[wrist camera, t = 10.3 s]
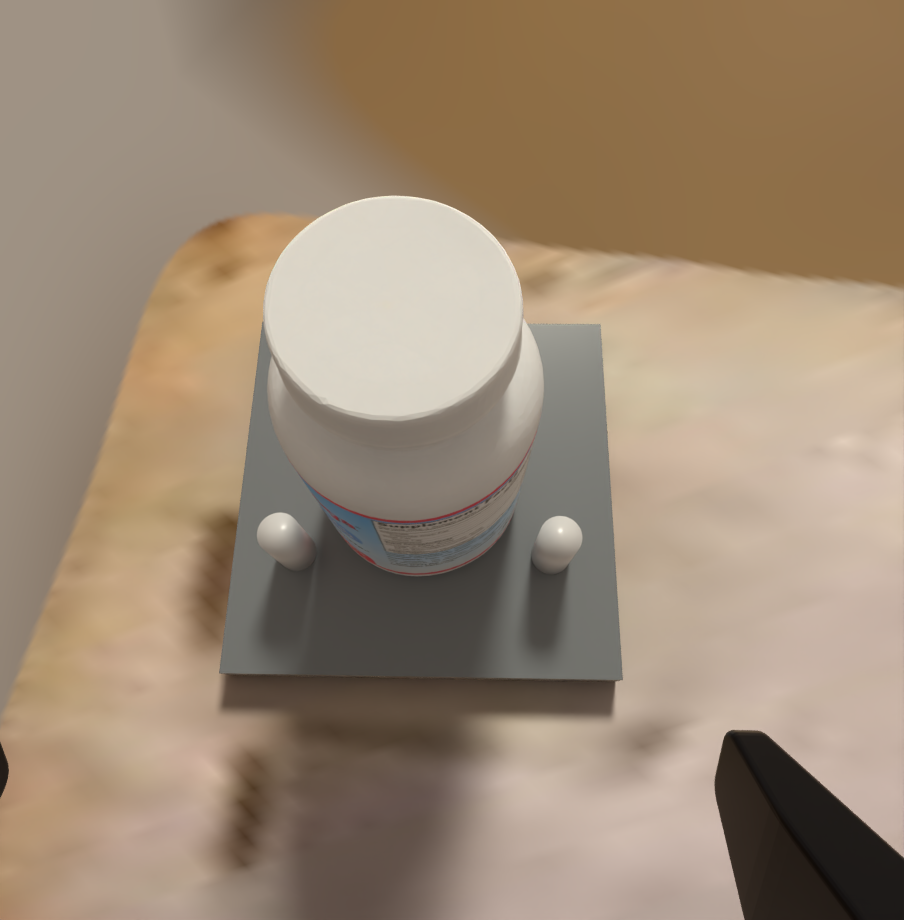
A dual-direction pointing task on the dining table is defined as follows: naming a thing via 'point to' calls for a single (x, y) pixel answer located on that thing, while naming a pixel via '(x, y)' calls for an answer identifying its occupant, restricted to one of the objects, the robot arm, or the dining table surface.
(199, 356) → the dining table surface
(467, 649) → the pin tray
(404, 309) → the pill bottle
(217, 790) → the dining table surface
